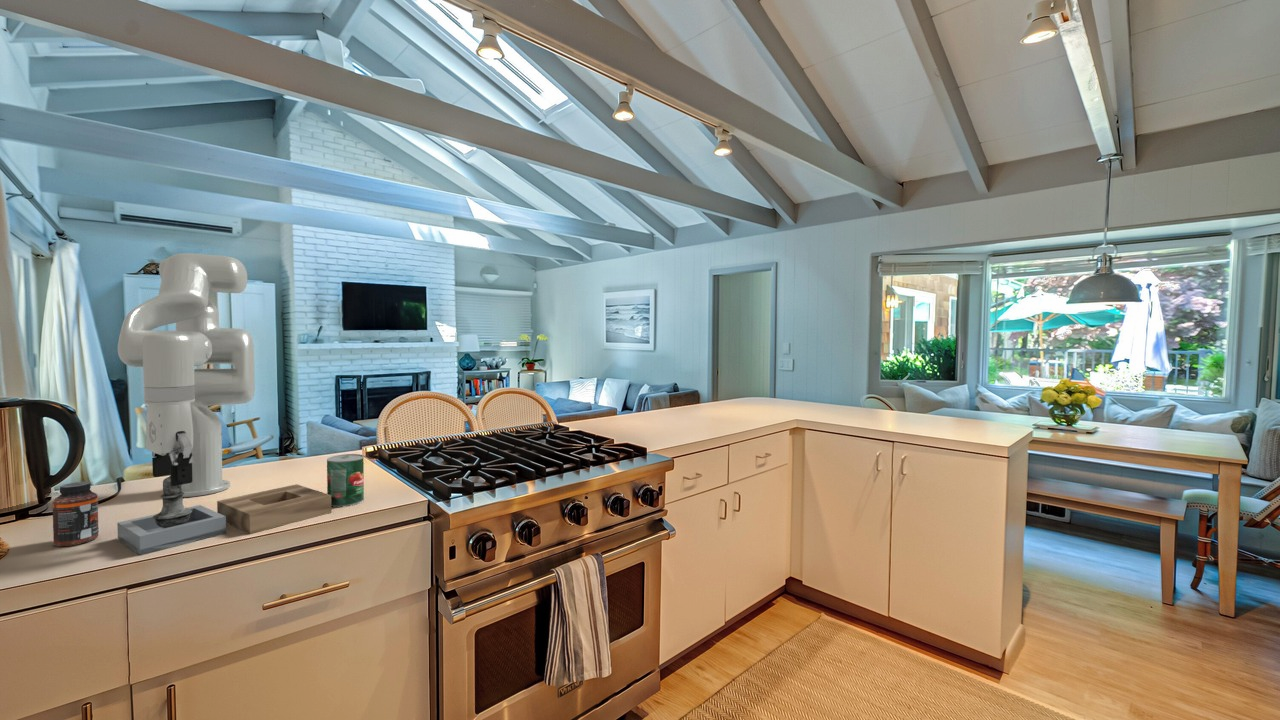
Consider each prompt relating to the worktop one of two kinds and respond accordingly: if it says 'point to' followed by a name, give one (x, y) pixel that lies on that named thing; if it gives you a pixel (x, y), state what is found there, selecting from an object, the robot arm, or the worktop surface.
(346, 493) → the canned tomato
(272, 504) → the socket block
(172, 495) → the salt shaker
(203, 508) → the tray
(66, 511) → the supplement bottle
